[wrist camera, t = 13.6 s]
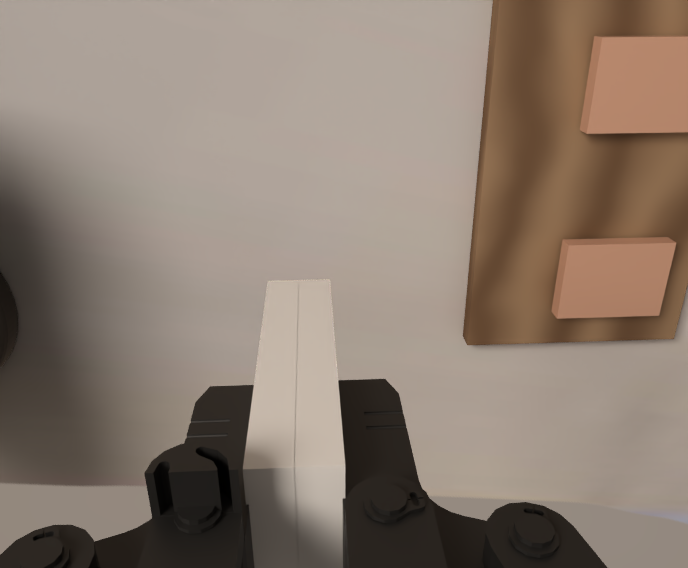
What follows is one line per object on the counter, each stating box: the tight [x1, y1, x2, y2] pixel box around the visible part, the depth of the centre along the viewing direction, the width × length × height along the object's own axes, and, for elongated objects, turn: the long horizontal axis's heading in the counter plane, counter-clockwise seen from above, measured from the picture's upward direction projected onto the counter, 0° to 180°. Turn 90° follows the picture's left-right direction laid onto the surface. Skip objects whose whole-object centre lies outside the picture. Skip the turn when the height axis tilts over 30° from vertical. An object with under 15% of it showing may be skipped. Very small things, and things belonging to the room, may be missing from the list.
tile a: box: [551, 237, 676, 319], centre depth 47 cm, size 2×6×8 cm
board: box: [463, 0, 688, 345], centre depth 45 cm, size 17×26×2 cm, turn 0°
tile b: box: [580, 35, 688, 134], centre depth 41 cm, size 2×6×8 cm
